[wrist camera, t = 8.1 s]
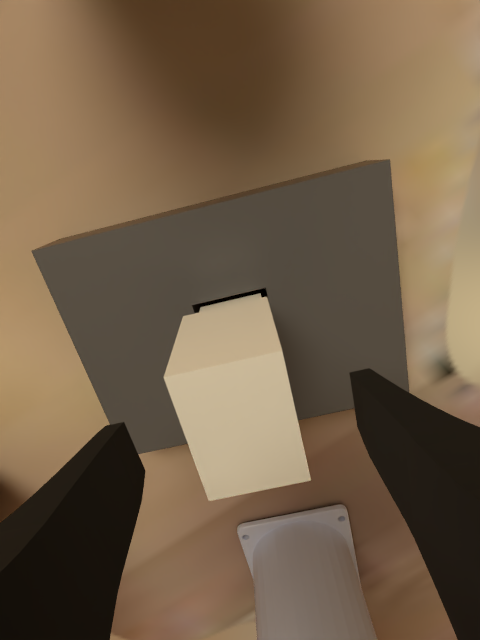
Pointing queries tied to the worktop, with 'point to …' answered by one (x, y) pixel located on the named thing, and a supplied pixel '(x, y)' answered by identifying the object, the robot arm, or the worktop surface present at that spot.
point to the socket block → (238, 291)
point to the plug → (236, 399)
